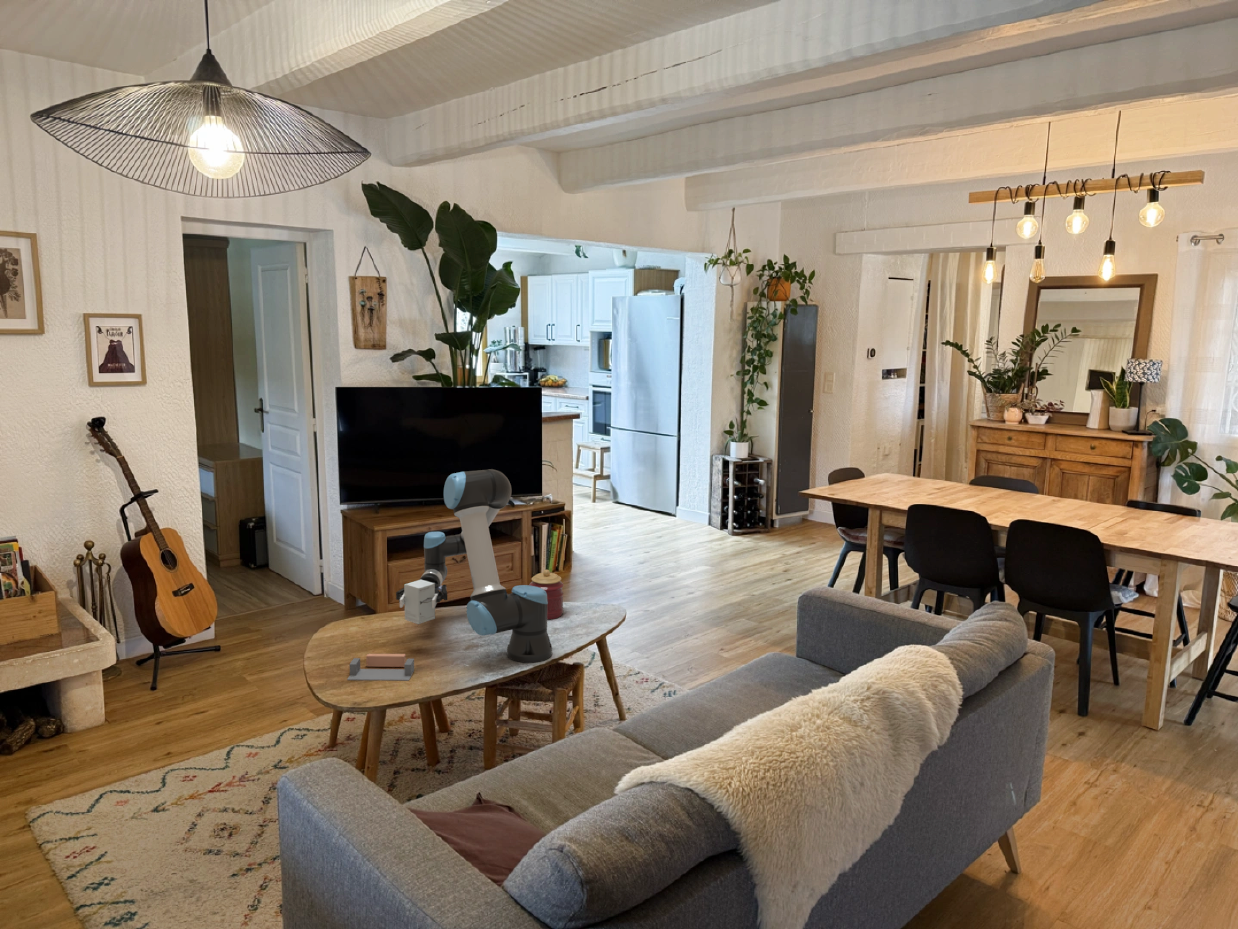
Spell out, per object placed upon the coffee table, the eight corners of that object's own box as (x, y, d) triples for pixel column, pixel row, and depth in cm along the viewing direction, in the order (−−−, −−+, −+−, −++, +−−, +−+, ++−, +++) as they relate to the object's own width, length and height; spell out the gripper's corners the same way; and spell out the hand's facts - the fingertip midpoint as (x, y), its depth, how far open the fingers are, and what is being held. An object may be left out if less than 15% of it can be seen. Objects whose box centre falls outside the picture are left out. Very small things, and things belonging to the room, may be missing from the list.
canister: (567, 610, 326) (567, 566, 323) (557, 621, 314) (557, 576, 311) (535, 607, 329) (535, 563, 326) (524, 618, 317) (524, 573, 314)
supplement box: (418, 625, 278) (417, 588, 276) (404, 620, 282) (403, 583, 280) (436, 619, 284) (435, 583, 281) (421, 614, 288) (420, 578, 286)
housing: (354, 669, 268) (353, 658, 267) (414, 670, 268) (414, 658, 268) (347, 680, 260) (346, 668, 259) (409, 680, 261) (408, 668, 260)
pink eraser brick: (368, 664, 271) (367, 653, 271) (405, 664, 272) (405, 654, 271) (366, 666, 269) (366, 656, 269) (404, 666, 270) (404, 656, 269)
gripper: (461, 593, 300) (451, 615, 278) (398, 592, 300) (382, 614, 278) (461, 573, 299) (451, 593, 277) (397, 572, 298) (382, 592, 276)
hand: (417, 603), depth 277 cm, fingers closed on supplement box, 10 cm apart
